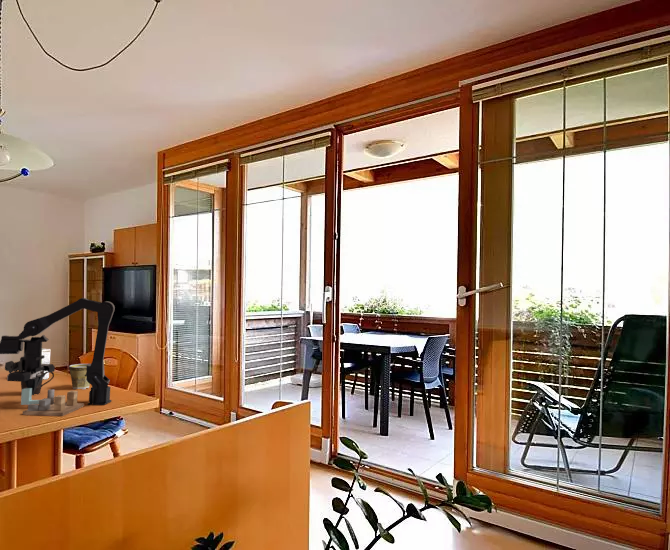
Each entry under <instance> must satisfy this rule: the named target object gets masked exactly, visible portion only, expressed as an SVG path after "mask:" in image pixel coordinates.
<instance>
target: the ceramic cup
mask: <svg viewBox="0 0 670 550" xmlns="http://www.w3.org/2000/svg"><path fill="white" fill-rule="evenodd" d="M87 365H88V363H78V364H71V365H69V366H68V367H69V368H68V369H69V375H70V379H71V386H72V387H71V388H72V389H73V390H76V389H82V390H87V389H86V388H88V389H89V388H90V385H91V384H89V383H88V382H87V380H86V377H87V376H85V374H86V366H87Z"/></svg>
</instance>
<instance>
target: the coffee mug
mask: <svg viewBox="0 0 670 550" xmlns="http://www.w3.org/2000/svg"><path fill="white" fill-rule="evenodd" d="M40 373H41V375H45V374H46V373H49V374H52V377H51V378H50V379H49V380H47V381H45V382H44V383H43V379H42V380H41V382H40V383H39V385H38V387H37V388H36V390H35V392H34V394H37V395H40V394H41V389H42V388H43V386H45V385H46V384H48V383H50V382H51V381H52V380H53V379H54V377H55V373H54V372H51V373H50V372H45V373H44V371H42V372H40ZM20 387H21V391H22V389H24V388H27V386H26V384H25V382H20ZM39 393H40V394H39ZM34 394H33V395H32V396H35V395H34Z"/></svg>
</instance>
